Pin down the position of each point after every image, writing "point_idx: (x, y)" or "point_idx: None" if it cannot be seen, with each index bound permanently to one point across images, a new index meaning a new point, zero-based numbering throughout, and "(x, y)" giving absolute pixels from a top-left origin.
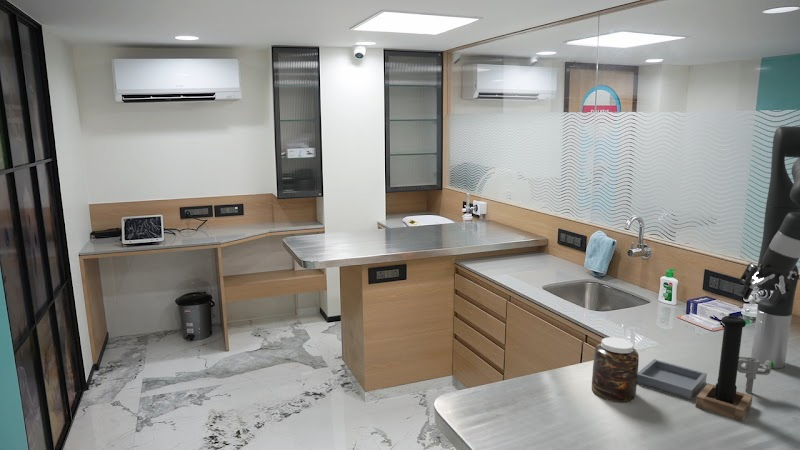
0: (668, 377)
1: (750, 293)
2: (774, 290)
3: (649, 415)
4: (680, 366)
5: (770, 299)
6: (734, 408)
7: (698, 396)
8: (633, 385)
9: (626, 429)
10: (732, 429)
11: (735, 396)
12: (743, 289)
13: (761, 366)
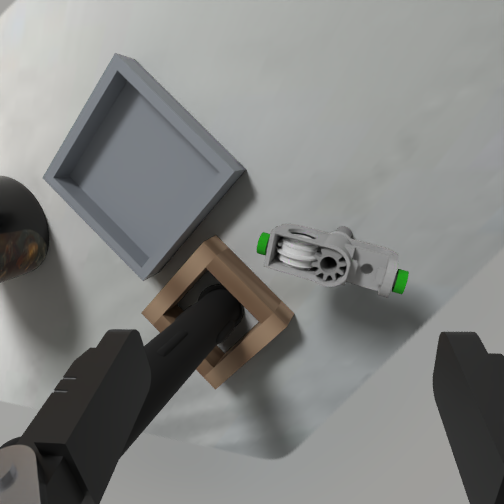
0: (143, 150)
1: (118, 448)
2: (496, 465)
3: (56, 325)
4: (175, 114)
5: (445, 357)
6: (202, 374)
7: (145, 313)
8: (4, 279)
9: (11, 365)
10: (188, 397)
11: (232, 330)
12: (49, 410)
13: (362, 272)
